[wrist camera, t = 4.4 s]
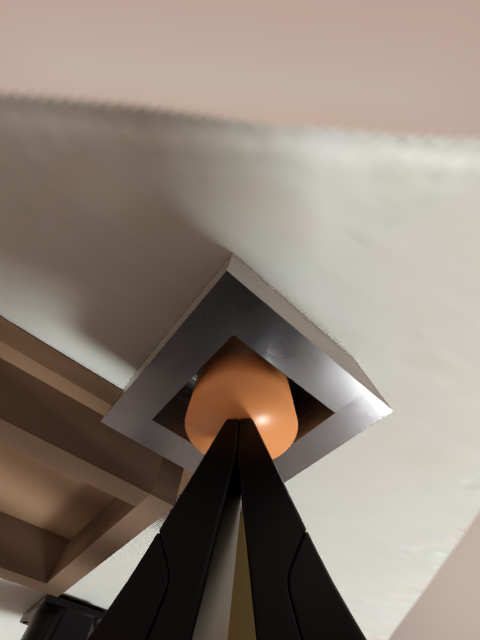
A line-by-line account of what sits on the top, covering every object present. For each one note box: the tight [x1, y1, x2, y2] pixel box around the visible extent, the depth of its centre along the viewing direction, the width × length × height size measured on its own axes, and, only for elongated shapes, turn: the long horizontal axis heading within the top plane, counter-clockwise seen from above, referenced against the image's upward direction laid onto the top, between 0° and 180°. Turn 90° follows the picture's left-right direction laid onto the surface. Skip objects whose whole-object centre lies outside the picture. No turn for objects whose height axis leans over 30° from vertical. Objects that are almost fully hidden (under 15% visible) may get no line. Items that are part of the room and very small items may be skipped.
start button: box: [185, 336, 298, 460], centre depth 9 cm, size 4×4×3 cm
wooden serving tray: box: [0, 317, 193, 597], centre depth 12 cm, size 14×15×3 cm
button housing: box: [100, 253, 393, 500], centre depth 9 cm, size 7×7×3 cm
